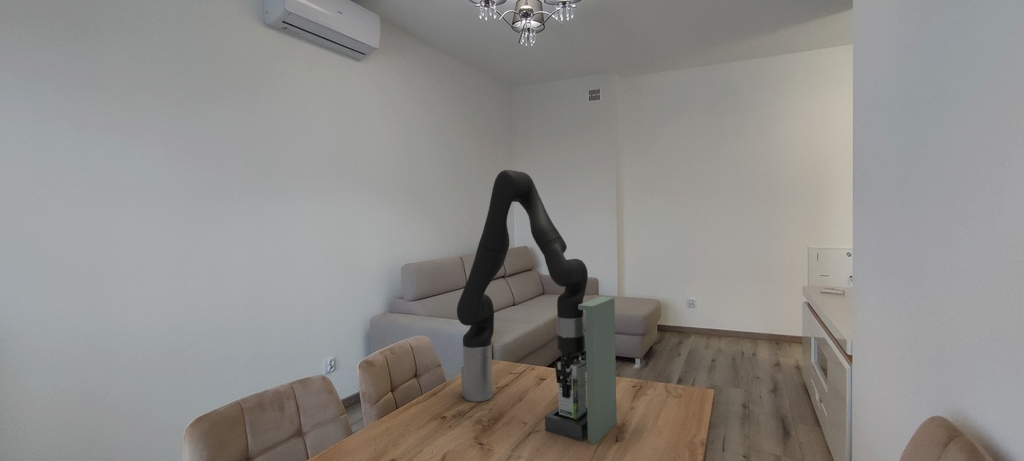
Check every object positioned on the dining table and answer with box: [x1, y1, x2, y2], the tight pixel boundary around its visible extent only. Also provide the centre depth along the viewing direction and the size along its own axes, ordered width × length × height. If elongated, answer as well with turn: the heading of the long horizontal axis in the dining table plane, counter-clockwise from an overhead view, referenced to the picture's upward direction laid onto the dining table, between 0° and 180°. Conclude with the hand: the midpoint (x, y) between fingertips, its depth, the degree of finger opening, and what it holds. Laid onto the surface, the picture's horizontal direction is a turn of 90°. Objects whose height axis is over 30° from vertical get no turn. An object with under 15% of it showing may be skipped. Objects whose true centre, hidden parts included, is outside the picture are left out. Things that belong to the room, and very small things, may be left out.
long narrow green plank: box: [578, 295, 618, 445], centre depth 121 cm, size 4×14×35 cm, turn 145°
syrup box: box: [558, 360, 587, 419], centre depth 124 cm, size 6×6×14 cm
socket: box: [544, 405, 588, 442], centre depth 124 cm, size 11×11×4 cm
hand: (572, 393), depth 124 cm, fingers closed on syrup box, 6 cm apart
